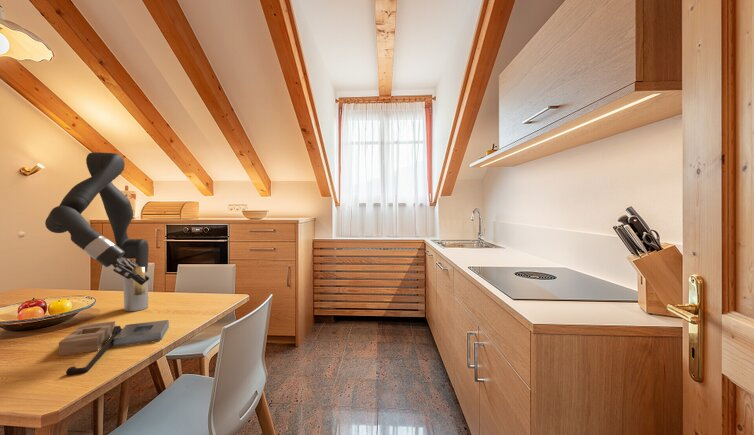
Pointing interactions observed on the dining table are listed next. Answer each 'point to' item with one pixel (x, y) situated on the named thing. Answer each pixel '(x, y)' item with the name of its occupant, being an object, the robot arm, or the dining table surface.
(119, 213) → the robot arm
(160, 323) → the block
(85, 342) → the brown recessed block
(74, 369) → the wrench
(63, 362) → the dining table surface
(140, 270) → the gold round-topped peg
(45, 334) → the dining table surface
